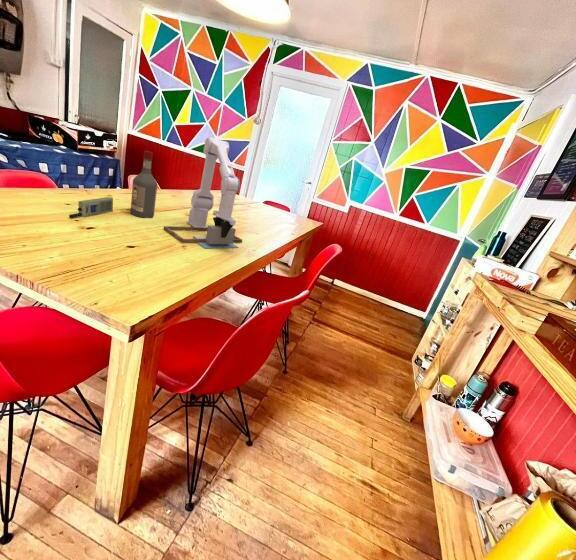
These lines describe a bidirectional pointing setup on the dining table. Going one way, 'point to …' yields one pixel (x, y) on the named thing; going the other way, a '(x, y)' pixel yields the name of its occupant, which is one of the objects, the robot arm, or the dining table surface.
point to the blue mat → (217, 245)
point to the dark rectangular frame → (170, 228)
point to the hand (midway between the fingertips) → (220, 235)
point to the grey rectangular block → (219, 235)
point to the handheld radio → (94, 207)
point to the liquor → (144, 190)
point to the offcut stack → (199, 237)
